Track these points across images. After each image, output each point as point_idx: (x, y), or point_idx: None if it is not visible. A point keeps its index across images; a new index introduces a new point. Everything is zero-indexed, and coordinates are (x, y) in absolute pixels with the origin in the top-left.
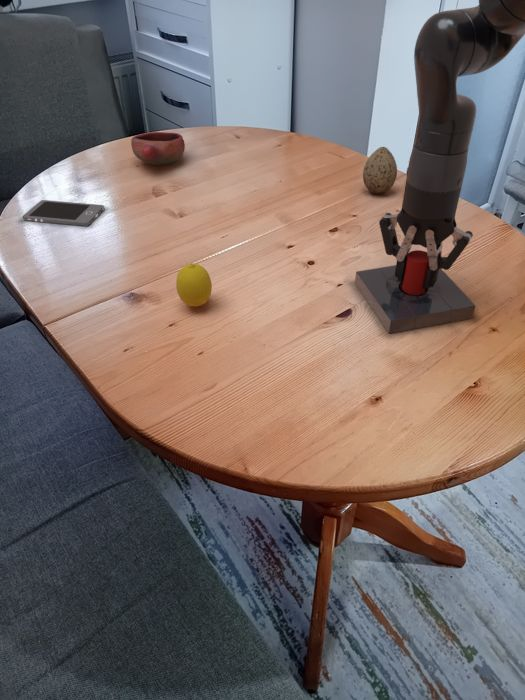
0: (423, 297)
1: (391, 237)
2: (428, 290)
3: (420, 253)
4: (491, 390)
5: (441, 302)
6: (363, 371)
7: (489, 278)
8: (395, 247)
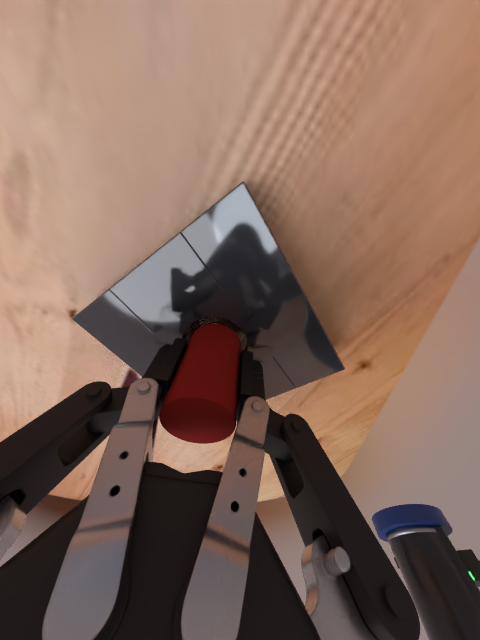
0: None
1: (58, 474)
2: (248, 347)
3: (196, 412)
4: (330, 447)
5: (276, 375)
6: (196, 448)
7: (428, 164)
8: (106, 425)
